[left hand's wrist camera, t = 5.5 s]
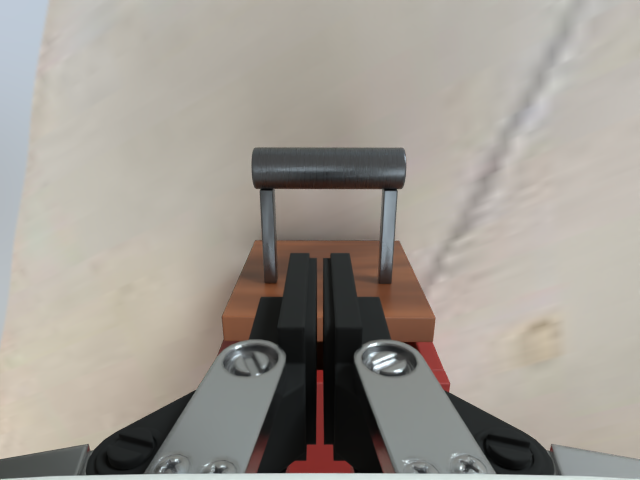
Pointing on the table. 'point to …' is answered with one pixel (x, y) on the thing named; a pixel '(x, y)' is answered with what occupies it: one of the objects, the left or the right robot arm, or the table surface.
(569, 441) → the table surface
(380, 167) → the drawer
